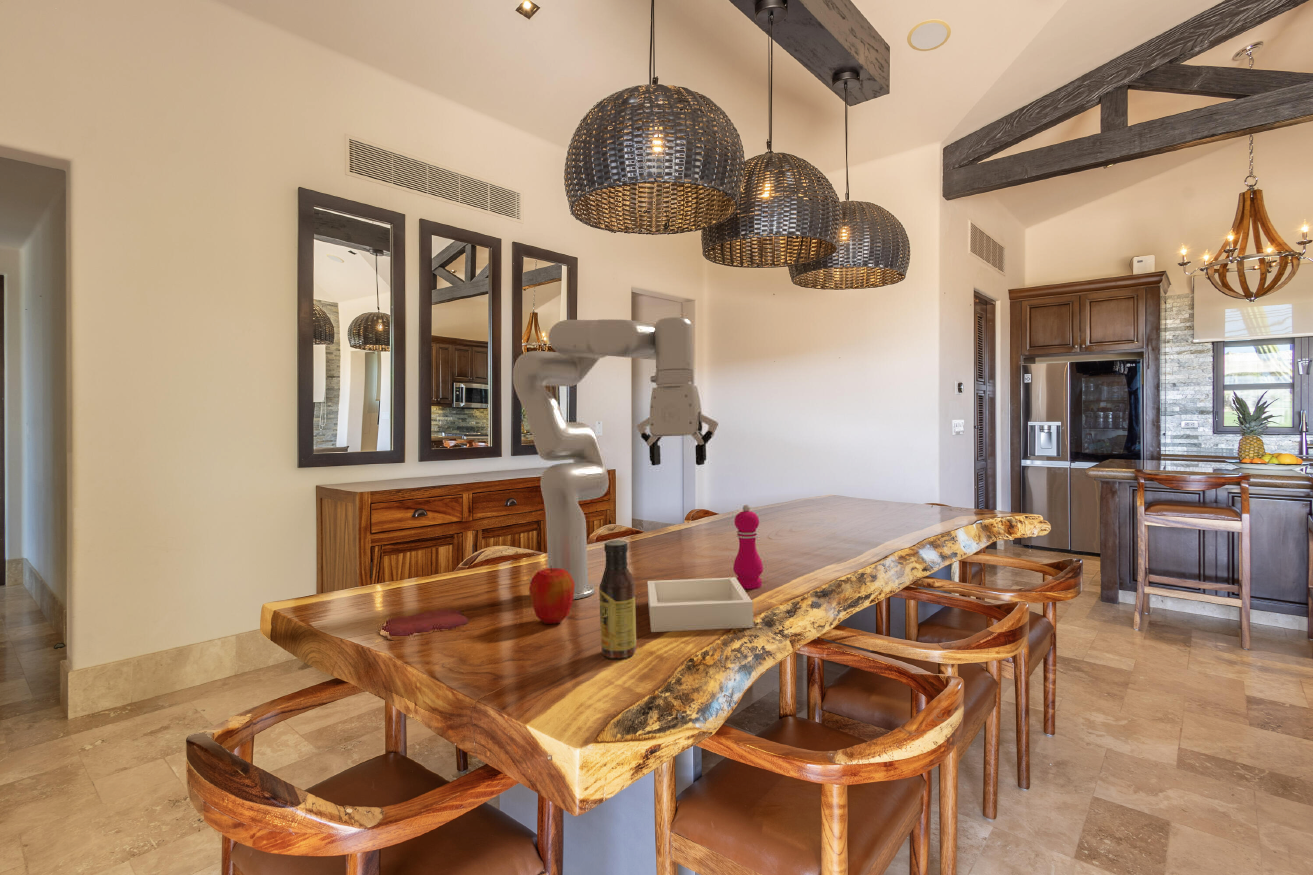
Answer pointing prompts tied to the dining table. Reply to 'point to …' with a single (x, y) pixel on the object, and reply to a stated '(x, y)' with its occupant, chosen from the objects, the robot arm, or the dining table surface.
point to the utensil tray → (698, 604)
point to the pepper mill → (747, 550)
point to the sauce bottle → (617, 603)
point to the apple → (552, 594)
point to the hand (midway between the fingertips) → (677, 464)
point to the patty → (425, 622)
